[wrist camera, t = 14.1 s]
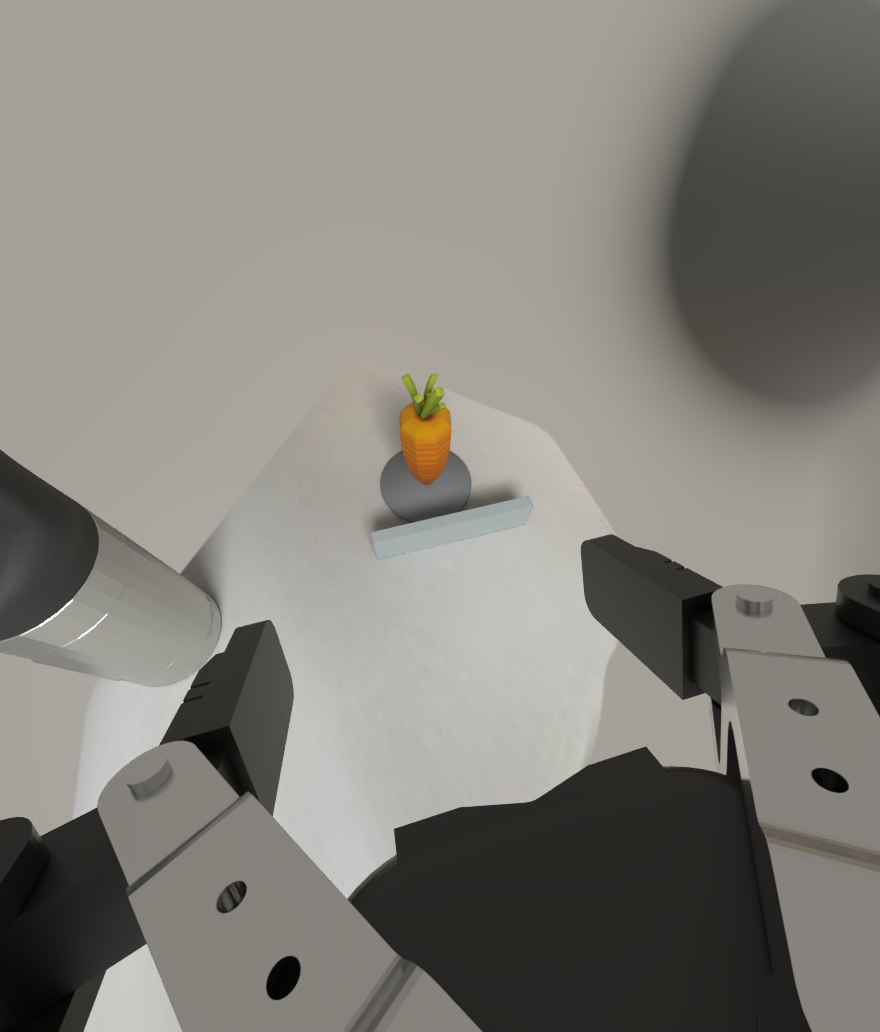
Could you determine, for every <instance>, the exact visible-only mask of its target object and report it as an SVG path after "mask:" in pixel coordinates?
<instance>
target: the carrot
mask: <svg viewBox="0 0 880 1032" xmlns="http://www.w3.org/2000/svg"><path fill="white" fill-rule="evenodd" d="M437 377H438V375H437V374H431V376H430V377H429V380H428V382H427V385H426V388H425V393H424V400H423V397H422V395H420V394H417V391H416V388H415V385H414V383H413V381H412V379H411V377H410V376H409V374H406V375H404V376H403V378H402V380H403V382H404V384H405V386H406V387H407V389H408V391H409V393H410V395H411V397H412V399H413V402H412V403H411V404H410V405H408V406H407V407H406V408H405V409H403V410H402V411H401V413H400V436H401V443H402V449H403V454H404V458H405V461H406V463H407V466H408V468H409V470H410V472H411V473H412V475H413V476H414V477H415V478H416V479H417V480H419V481H420V482H421V483H422V484H424V485H430V484H431V483H433V482H434V481H435V480H436V479H437V478H438V477H439V476H440V474H441V473H442V472H443V470H444V467H445V465H446V462H447V459H448V456H449V449H450V440H451V422H450V412H449V410H448V409H447V408H446V405H445V404H444V403H438V402H439V401H440V400H441V399H442V397H443V396H444V391H443V389H442V387H437V388H434V389H433V391H432V388H433V386H434V383H435V381H436V379H437ZM431 391H432V392H431Z"/></svg>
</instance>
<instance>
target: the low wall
mask: <svg viewBox="0 0 880 1032" xmlns="http://www.w3.org/2000/svg"><path fill="white" fill-rule="evenodd" d="M532 508H533V504H532V502H531V499H530V497H529V496H526V497H521V498H517V499H513V500H508V501H504V502H500V503H495V504H491V505H487V506H482V507H478V508H474V509H470V510H465V511H461V512H457V513H452V514H448V515H444V516H439V517H435V518H431V519H426V520H422V521H418V522H413V523H409V524H405V525H401V526H396V527H392V528H388V529H383V530H379V531H375V532H371V537H372V541H373V545H374V549H375V552H376V556H377V559H378V560H380V559H384V558H388V557H392V556H396V555H400V554H405V553H409V552H413V551H417V550H421V549H425V548H430V547H434V546H438V545H442V544H446V543H450V542H454V541H459V540H463V539H467V538H471V537H475V536H479V535H484V534H488V533H492V532H496V531H500V530H504V529H508V528H513V527H517V526H521V525H525V524H526V522H527V520H528V517H529V515H530V513H531V510H532Z"/></svg>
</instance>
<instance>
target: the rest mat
mask: <svg viewBox="0 0 880 1032" xmlns="http://www.w3.org/2000/svg"><path fill="white" fill-rule="evenodd" d="M470 490H471V477H470V473H469V471H468V468H467V467H466V465H465V463H464V462H463V461H462V460H461V459H460V458H459V457H458V456H457V455H455V454H454V453H452V452H450V451H449V456H448V459H447V462H446V465H445V467H444V470H443V472H442V473H441V474H440V476H439V477H438V478H437V479H436V480H435V481H434V482H433V483H431V484H430V485H424V484H422V483H421V482H420V481H419V480H417V479H416V478H415V477H414V476H413V475H412V473H411V472H410V470H409V468H408V466H407V463H406V461H405V458H404V454H403V451H402V452H400V453H399V454H397V455H396V456H394V457H393V458H392V459H391V460H390V461H389V463H388V464H387V465H386V467H385V469H384V471H383V474H382V477H381V491H382V495H383V498H384V500H385V502H386V504H387V505H388V507H389V508H390V509H391V510H392V511H393V512H394V513H395V514H397V515H398V516H400V517H401V518H403V519H405V520H408V521H411V522H418V521H422V520H426V519H431V518H435V517H439V516H444V515H448V514H452V513H457V512H459V511H460V510H461V509H462V508H463V506H464V505H465V504H466V502H467V500H468V498H469V495H470Z"/></svg>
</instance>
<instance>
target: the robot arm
mask: <svg viewBox="0 0 880 1032" xmlns="http://www.w3.org/2000/svg"><path fill="white" fill-rule="evenodd" d="M581 559H582V571H583V583H584V594H585V600H586V603H587V606H588V608H589V610H590V612H591V614H592V615H593V617H594V618H595V619H596V620H597V621H598V622H599V623H600V624H602V625H603V626H604V627H605V628H606V629H607V630H608V631H609V632H610V633H611V634H612V635H613V636H614V637H616V638H617V639H618V640H619V641H620V642H621V643H622V644H623V645H624V646H625V647H626V648H627V649H628V650H630V651H631V652H632V653H633V654H634V655H635V656H636V657H637V658H638V659H639V660H640V661H641V662H642V663H644V664H645V665H646V666H647V667H648V668H649V669H650V670H651V671H652V672H653V673H654V674H655V675H656V676H658V677H659V678H660V679H661V680H662V681H663V682H664V683H665V684H666V685H668V687H669V688H670V689H672V690H673V691H674V692H675V693H676V694H677V695H678V696H679V697H680V698H681V699H682V700H684V699H687V698H690V697H694V696H697V695H700V694H703V693H706V694H708V695H709V696H710V717H711V726H712V735H713V743H714V752H715V761H716V770H717V772H713V771H708V770H704V769H697V768H689V767H672V766H670V767H663V766H662V765H661V764H660V763H659V762H658V760H657V759H656V758H655V757H654V756H653V754H652V753H651V752H650V751H649V750H648V748H647V747H643V748H640V749H637V750H634V751H631V752H628V753H625V754H622V755H619V756H616V757H613V758H610V759H607V760H603V761H601V762H597V763H595V764H592V765H588V766H587V767H585V768H583V769H582V770H580V771H579V772H577V773H576V774H574V775H573V776H571V777H570V778H568V779H567V780H565V781H564V782H562V783H561V784H559V785H558V786H556V787H555V788H553V789H552V790H550V791H549V792H547V793H546V794H544V795H543V796H541V797H540V798H538V799H536V800H534V801H531V802H526V803H515V804H501V805H487V806H473V807H460V808H457V809H454V810H451V811H448V812H445V813H441V814H438V815H435V816H432V817H429V818H426V819H423V820H420V821H417V822H414V823H411V824H408V825H405V826H402V827H399V828H396V829H394V834H395V843H396V853H397V855H395V856H394V857H392V858H391V859H389V860H388V861H386V862H385V863H384V864H382V865H381V866H380V867H379V868H377V869H376V870H375V871H374V872H372V873H371V874H370V875H369V876H368V877H367V878H366V879H365V880H364V881H363V882H362V883H361V884H360V885H359V886H358V887H357V888H356V889H355V890H354V892H353V893H352V894H351V895H350V896H349V898H348V899H346V898H345V896H344V895H343V894H342V893H341V892H340V891H339V890H338V889H337V888H336V887H335V885H334V884H333V883H332V882H331V881H330V880H329V879H328V878H327V877H326V875H325V874H324V873H323V872H322V871H321V870H320V869H319V868H318V867H317V865H316V864H315V863H314V862H313V861H312V860H311V859H310V858H309V857H308V856H307V854H306V853H305V852H304V851H303V850H302V849H301V848H300V847H299V846H298V844H297V843H296V842H295V841H294V840H293V839H292V838H291V837H290V836H289V835H288V833H287V832H286V831H285V830H284V829H283V828H282V827H281V826H280V825H279V823H278V822H277V821H276V820H275V819H274V818H273V811H274V806H275V800H276V795H277V789H278V784H279V778H280V772H281V767H282V761H283V756H284V750H285V744H286V739H287V733H288V728H289V722H290V716H291V711H292V705H293V697H294V693H293V683H292V678H291V674H290V671H289V668H288V665H287V662H286V659H285V656H284V653H283V650H282V647H281V644H280V641H279V638H278V635H277V633H276V630H275V627H274V625H273V623H272V622H271V621H270V620H266V621H262V622H258V623H254V624H250V625H246V626H242V627H238V628H236V629H235V631H234V633H233V635H232V637H231V639H230V641H229V643H228V645H227V648H226V650H225V652H223V653H219V654H216V655H215V656H214V657H213V658H212V659H211V660H210V661H209V662H207V663H206V664H205V665H204V666H203V667H202V668H201V669H200V670H199V672H198V674H197V676H196V677H195V679H194V681H193V683H192V685H191V689H190V690H189V691H188V692H187V694H186V696H185V698H184V700H183V701H184V703H183V704H181V706H180V707H179V709H178V711H177V713H176V715H175V717H174V719H173V720H172V722H171V724H170V726H169V728H168V730H167V732H166V734H165V735H164V737H163V739H162V741H161V743H160V745H159V746H157V747H155V748H153V749H151V750H149V751H147V752H145V753H143V754H142V755H140V756H138V757H137V758H135V759H134V760H132V761H131V762H129V763H128V764H127V765H126V766H124V767H123V768H122V769H121V770H120V771H119V772H118V773H117V774H116V775H115V776H114V777H113V778H112V779H111V780H110V781H109V782H108V784H107V785H106V786H105V788H104V789H103V791H102V793H101V795H100V797H99V800H98V805H97V808H95V809H93V810H92V811H90V812H88V813H86V814H84V815H82V816H80V817H78V818H76V819H74V820H72V821H70V822H68V823H66V824H64V825H62V826H60V827H58V828H56V829H54V830H52V831H50V832H48V833H46V834H44V835H42V836H40V835H39V834H38V832H37V831H36V829H35V828H34V826H33V824H32V823H31V822H30V820H28V819H26V818H24V817H14V818H8V819H4V820H1V821H0V1032H83V1031H84V1029H85V1026H86V1023H87V1020H88V1018H89V1015H90V1012H91V1010H92V1007H93V1004H94V1002H95V999H96V996H97V994H98V991H99V988H100V986H101V983H102V980H103V978H104V975H105V972H106V970H107V969H108V968H110V967H111V966H113V965H114V964H116V963H118V962H119V961H121V960H122V959H124V958H125V957H127V956H128V955H130V954H131V953H133V952H134V951H136V950H138V949H139V948H141V947H142V946H144V945H145V944H147V945H148V948H149V950H150V953H151V955H152V957H153V960H154V962H155V965H156V967H157V970H158V972H159V975H160V977H161V980H162V982H163V985H164V987H165V990H166V992H167V995H168V997H169V1000H170V1002H171V1005H172V1007H173V1009H174V1012H175V1014H176V1017H177V1019H178V1022H179V1024H180V1027H181V1029H182V1032H880V575H856V576H851V577H847V578H845V579H843V580H841V581H840V582H839V584H838V590H837V599H836V602H835V603H834V602H833V603H819V604H805V605H800V604H799V603H798V601H797V600H796V599H794V598H793V597H792V596H790V595H788V594H786V593H784V592H781V591H779V590H776V589H773V588H768V587H764V586H758V585H731V586H726V587H722V586H720V585H718V584H716V583H714V582H712V581H711V580H709V579H707V578H705V577H703V576H701V575H699V574H697V573H695V572H693V571H692V570H689V569H688V568H686V569H685V568H684V566H682V565H680V564H678V563H676V562H675V561H674V562H672V561H671V559H668V558H667V557H665V556H663V555H661V554H659V553H657V552H655V551H651V550H647V549H643V548H639V547H635V546H633V545H631V544H629V543H628V542H626V541H624V540H622V539H620V538H618V537H617V536H615V535H612V534H610V535H606V536H602V537H598V538H594V539H590V540H586V541H584V542H583V543H582V545H581ZM220 630H221V617H220V611H219V609H218V606H217V604H216V602H215V601H214V600H213V599H212V597H211V596H210V595H208V594H207V593H206V592H204V591H203V590H201V589H200V588H199V587H197V586H196V585H194V584H193V583H192V582H190V581H189V580H188V579H186V578H185V577H183V576H182V575H181V574H179V573H177V572H176V571H175V570H173V569H172V568H171V567H169V566H168V565H166V564H165V563H163V562H162V561H161V560H159V559H158V558H156V557H155V556H153V555H152V554H151V553H149V552H148V551H146V550H145V549H143V548H142V547H140V546H139V545H138V544H136V543H135V542H133V541H132V540H131V539H129V538H128V537H126V536H125V535H123V534H122V533H121V532H119V531H118V530H116V529H115V528H113V527H112V526H110V525H109V524H107V523H106V522H105V521H103V520H101V519H100V518H99V517H97V516H96V515H94V514H93V513H92V512H90V511H89V510H87V509H86V508H84V507H82V506H81V505H80V504H79V503H77V502H76V501H74V500H73V499H71V498H70V497H68V496H67V495H65V494H64V493H62V492H60V491H59V490H57V489H56V488H54V487H53V486H51V485H50V484H48V483H47V482H45V481H44V480H42V479H41V478H39V477H37V476H36V475H35V474H33V473H32V472H30V471H29V470H27V469H26V468H24V467H23V466H22V465H20V464H19V463H17V462H16V461H14V460H13V459H12V458H10V457H9V456H8V455H7V454H5V453H4V452H3V451H1V450H0V652H1V653H5V654H9V655H15V656H19V657H24V658H28V659H31V660H32V661H33V662H35V663H40V664H44V665H49V666H53V667H57V668H62V669H67V670H71V671H75V672H80V673H85V674H89V675H94V676H98V677H102V678H107V679H111V680H116V681H119V680H123V681H128V682H132V683H137V684H141V685H146V686H165V685H169V684H173V683H175V682H178V681H180V680H182V679H184V678H186V677H187V676H189V675H190V674H192V673H193V672H195V671H196V670H197V669H198V668H199V667H200V666H201V665H202V664H203V663H204V662H205V661H206V660H207V658H208V657H209V656H210V654H211V653H212V652H213V650H214V648H215V646H216V644H217V641H218V638H219V634H220Z"/></svg>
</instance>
